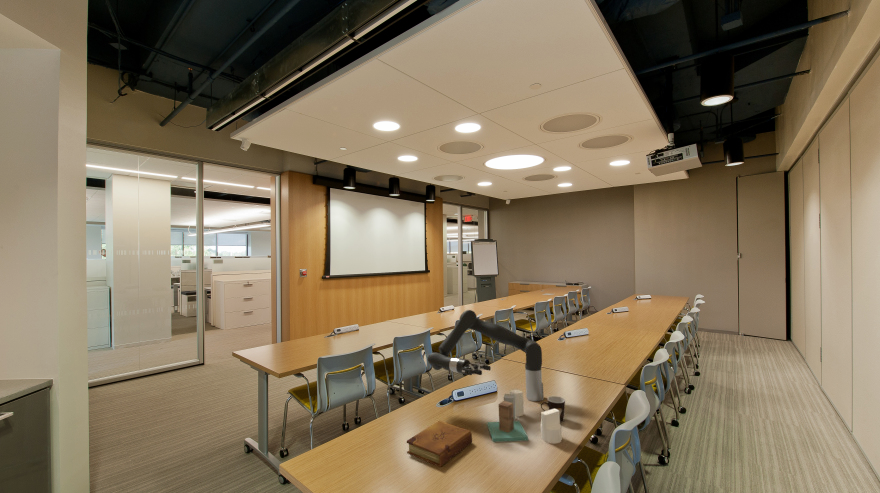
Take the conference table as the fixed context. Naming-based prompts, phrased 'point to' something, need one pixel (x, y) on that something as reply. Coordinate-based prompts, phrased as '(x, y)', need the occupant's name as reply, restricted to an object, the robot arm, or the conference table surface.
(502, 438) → the teal board
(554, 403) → the coffee mug
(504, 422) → the walnut brick
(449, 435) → the diary
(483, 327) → the robot arm
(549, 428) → the base with upright slab
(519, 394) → the off-white brick
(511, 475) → the conference table surface
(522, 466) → the conference table surface
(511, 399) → the grey brick
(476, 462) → the conference table surface
